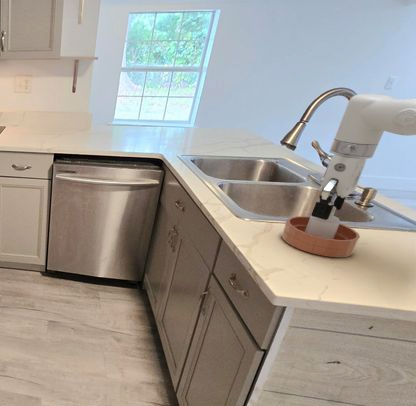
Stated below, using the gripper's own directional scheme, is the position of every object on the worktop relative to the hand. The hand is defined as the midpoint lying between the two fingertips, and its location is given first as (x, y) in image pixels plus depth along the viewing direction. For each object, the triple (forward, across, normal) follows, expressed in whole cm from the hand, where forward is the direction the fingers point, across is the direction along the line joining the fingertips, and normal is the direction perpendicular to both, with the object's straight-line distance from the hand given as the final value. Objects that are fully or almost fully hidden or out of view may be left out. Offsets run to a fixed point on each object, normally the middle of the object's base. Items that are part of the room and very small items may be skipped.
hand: (325, 212), depth 94 cm
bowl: (+9, 0, 0) cm, 9 cm away
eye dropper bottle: (+9, 0, 0) cm, 9 cm away
